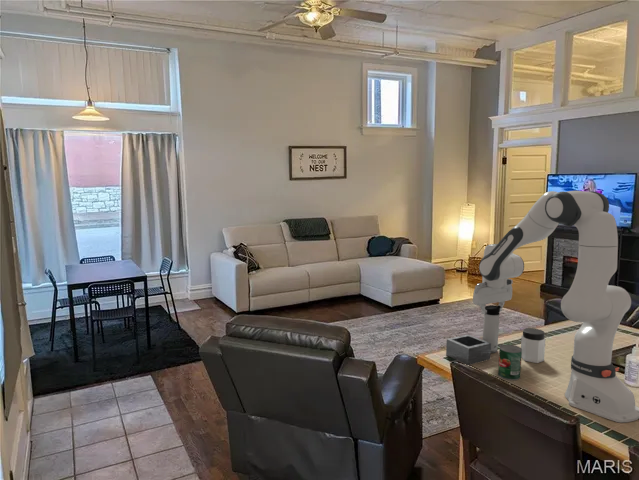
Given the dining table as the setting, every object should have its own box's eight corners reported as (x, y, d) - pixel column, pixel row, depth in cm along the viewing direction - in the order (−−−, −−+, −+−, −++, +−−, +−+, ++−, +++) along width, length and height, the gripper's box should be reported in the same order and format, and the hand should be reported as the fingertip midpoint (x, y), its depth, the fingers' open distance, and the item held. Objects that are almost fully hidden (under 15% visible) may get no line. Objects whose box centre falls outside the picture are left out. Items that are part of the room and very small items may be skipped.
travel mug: (499, 353, 200) (502, 308, 197) (483, 352, 201) (485, 307, 198) (496, 348, 206) (499, 304, 203) (481, 347, 207) (483, 303, 204)
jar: (517, 355, 198) (518, 327, 197) (536, 354, 198) (537, 327, 197) (527, 363, 189) (529, 334, 188) (547, 363, 190) (549, 334, 188)
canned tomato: (493, 375, 178) (495, 347, 177) (505, 369, 183) (506, 342, 182) (513, 382, 172) (514, 353, 171) (524, 376, 177) (526, 348, 175)
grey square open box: (490, 359, 193) (491, 343, 192) (468, 365, 188) (468, 348, 187) (467, 349, 204) (468, 334, 203) (446, 354, 199) (446, 339, 198)
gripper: (481, 285, 192) (479, 317, 193) (515, 280, 201) (514, 311, 203) (469, 282, 197) (468, 314, 199) (503, 277, 207) (502, 307, 208)
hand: (491, 312), depth 201 cm, fingers open, 8 cm apart
